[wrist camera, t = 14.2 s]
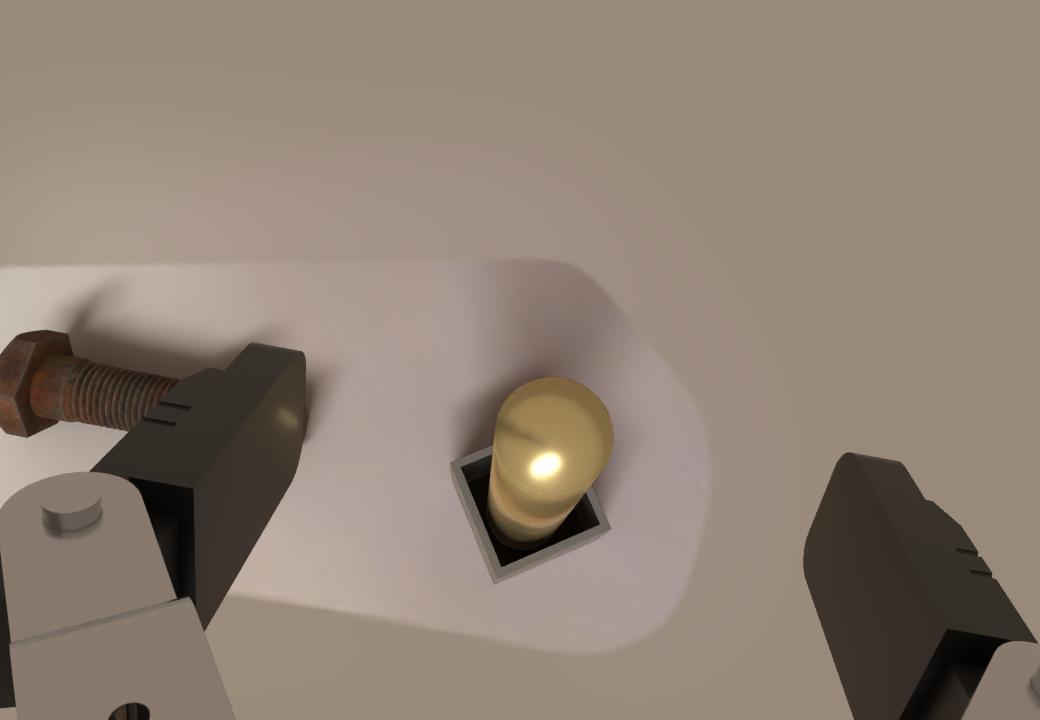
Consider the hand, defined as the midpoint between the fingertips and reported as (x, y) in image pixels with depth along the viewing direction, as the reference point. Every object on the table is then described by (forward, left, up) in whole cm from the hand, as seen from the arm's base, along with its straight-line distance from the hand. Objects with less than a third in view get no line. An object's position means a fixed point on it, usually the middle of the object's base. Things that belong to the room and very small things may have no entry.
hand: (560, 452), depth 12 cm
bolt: (-13, +15, -33) cm, 39 cm away
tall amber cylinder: (+3, +3, -33) cm, 33 cm away
